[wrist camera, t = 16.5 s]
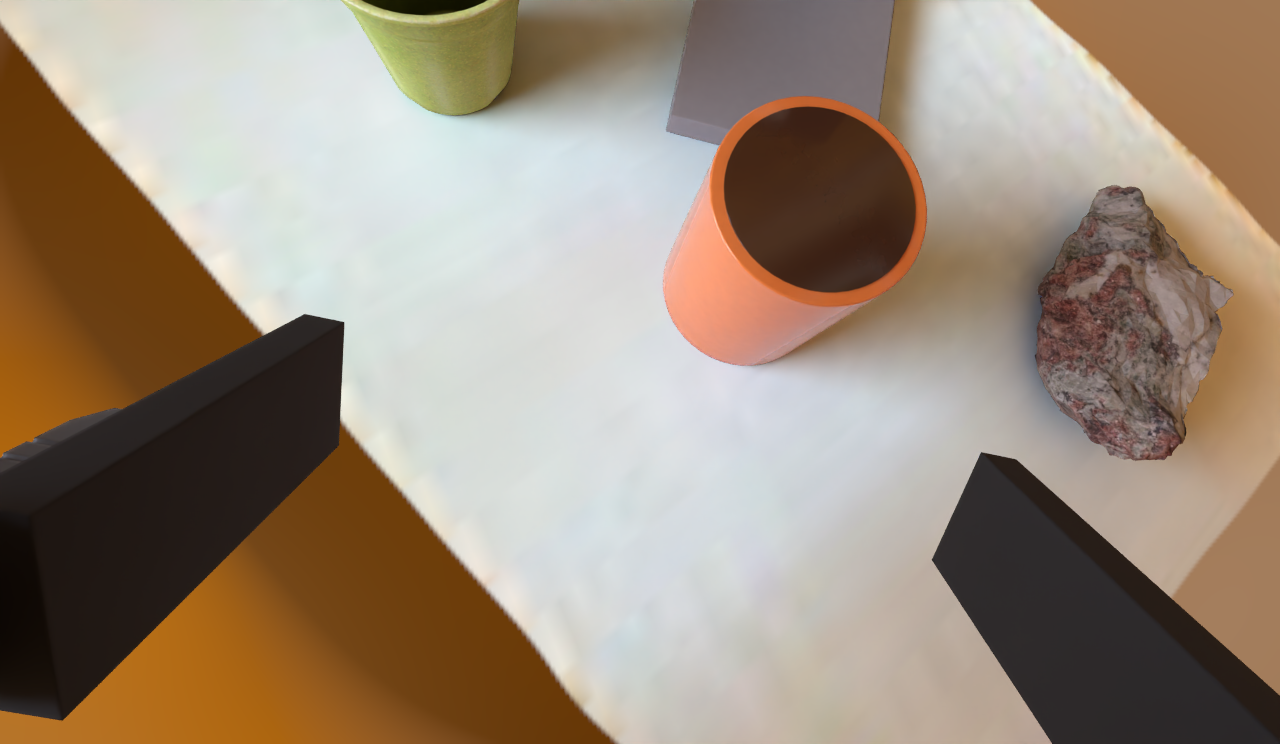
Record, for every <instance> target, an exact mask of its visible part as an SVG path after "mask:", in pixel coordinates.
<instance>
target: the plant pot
mask: <svg viewBox="0 0 1280 744" xmlns="http://www.w3.org/2000/svg"><path fill="white" fill-rule="evenodd" d="M341 1H342V2H343V3H344V4H345V5H346V6H347V7H348V8H349V9H350V10H351V11H352V12H353V14H354V15H355V17H356V18H357V20H358V22H359V23H360V25H361V27H362V28H363V30H364V32H365V33H366V35H367V36H368V38H369V40H370V41H371V43H372V45H373V46H374V48H375V49H376V51H377V53H378V55H379V56H380V58H381V60H382V61H383V63H384V65H385V66H386V68H387V70H388V71H389V73H390V75H391V76H392V78H393V79H394V81H395V83H396V85H397V86H398V88H399V89H400V90H401V91H402V92H403V93H404V94H405V95H406V96H407V97H409V98H410V99H412V100H413V101H415V102H416V103H417V104H419V105H420V106H422V107H423V108H425V109H427V110H429V111H432V112H435V113H439V114H445V115H462V114H468V113H472V112H475V111H478V110H481V109H483V108H485V107H486V106H488V105H489V104H490V103H491V102H492V101H493V100H494V99H495V97H496V96H497V95H498V94H499V93H500V92H501V91H502V90H503V88H504V87H505V86H506V85H507V83H508V81H509V78H510V74H511V67H512V60H513V50H514V40H515V31H516V22H517V13H518V5H519V0H341Z"/></svg>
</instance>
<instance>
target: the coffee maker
mask: <svg viewBox="0 0 1280 744" xmlns="http://www.w3.org/2000/svg"><path fill="white" fill-rule="evenodd" d="M894 2H895V0H694V3H693V8H692V12H691V17H690V22H689V26H688V31H687V35H686V40H685V45H684V49H683V54H682V58H681V63H680V68H679V72H678V77H677V81H676V86H675V91H674V95H673V100H672V105H671V109H670V114H669V118H668V123H667V128H666V131H667V132H671V133H675V134H678V135H682V136H686V137H690V138H694V139H698V140H701V141H705V142H709V143H713V144H717V145H720V144H721V142H722V141H723V139H724V137H725V136H726V134H727V133H728V132H729V131H730V129H731V128H732V127H733V126H734V125H735V124H736V123H737V122H738V121H739V120H740V119H741V118H742V117H744V116H745V115H747V114H748V113H750V112H751V111H752V110H754V109H756V108H758V107H760V106H762V105H764V104H766V103H769V102H772V101H775V100H778V99H783V98H788V97H797V96H813V97H822V98H828V99H833V100H836V101H839V102H843V103H846V104H848V105H851V106H853V107H855V108H857V109H859V110H861V111H863V112H865V113H866V114H868V115H870V116H872V117H873V118H874V119H876V120H877V121H878V122H879V116H880V108H881V101H882V93H883V86H884V78H885V70H886V63H887V55H888V48H889V40H890V33H891V25H892V18H893V10H894Z"/></svg>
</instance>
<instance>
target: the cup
mask: <svg viewBox="0 0 1280 744" xmlns="http://www.w3.org/2000/svg"><path fill="white" fill-rule="evenodd" d="M926 223H927V206H926V198H925V193H924V189H923V185H922V181H921V178H920V176H919V173H918V171H917V168H916V166H915V165H914V163H913V161H912V159H911V157H910V155H909V154H908V153H907V151H906V150H905V148H904V147H903V145H902V144H901V143H900V142H899V141H898V139H897V138H896V137H895V136H894V135H893V134H892V133H891V132H890V131H889V130H888V129H887V128H886V127H885V126H884V125H882V124H881V123H880V122H878V121H877V120H876V119H874V118H873V117H872V116H870V115H868V114H866V113H865V112H863V111H861V110H859V109H857V108H855V107H853V106H851V105H848V104H846V103H843V102H839V101H836V100H833V99H828V98H822V97H813V96H797V97H788V98H783V99H778V100H775V101H772V102H769V103H766V104H764V105H762V106H760V107H758V108H756V109H754V110H752V111H751V112H750V113H748V114H747V115H745V116H744V117H742V118H741V119H740V120H739V121H738V122H737V123H736V124H735V125H734V126H733V127H732V128H731V129H730V131H729V132H728V133H727V134H726V136H725V137H724V139H723V141H722V142H721V144H720V146H719V147H718V150H717V152H716V154H715V156H714V158H713V160H712V163H711V165H710V167H709V169H708V171H707V173H706V176H705V178H704V180H703V182H702V184H701V186H700V189H699V191H698V193H697V195H696V197H695V199H694V202H693V204H692V206H691V208H690V210H689V212H688V215H687V217H686V219H685V221H684V223H683V225H682V228H681V230H680V232H679V234H678V236H677V238H676V241H675V243H674V245H673V247H672V249H671V251H670V254H669V256H668V259H667V261H666V265H665V269H664V277H663V291H664V297H665V302H666V305H667V309H668V312H669V314H670V316H671V318H672V320H673V322H674V324H675V325H676V327H677V328H678V330H679V331H680V332H681V334H682V335H683V336H684V337H685V338H686V339H687V340H688V341H689V342H690V343H691V344H692V345H693V346H694V347H696V348H697V349H698V350H700V351H701V352H703V353H704V354H706V355H708V356H710V357H712V358H714V359H716V360H719V361H722V362H725V363H729V364H735V365H759V364H764V363H768V362H771V361H774V360H776V359H779V358H781V357H782V356H784V355H786V354H787V353H789V352H791V351H792V350H794V349H795V348H797V347H799V346H800V345H802V344H803V343H805V342H807V341H808V340H810V339H811V338H813V337H815V336H816V335H818V334H819V333H821V332H822V331H824V330H826V329H827V328H829V327H830V326H832V325H834V324H835V323H837V322H838V321H840V320H842V319H843V318H845V317H846V316H848V315H849V314H851V313H853V312H854V311H856V310H857V309H859V308H861V307H862V306H864V305H865V304H867V303H869V302H870V301H872V300H873V299H875V298H876V297H878V296H880V295H881V294H883V293H884V292H886V291H888V290H889V289H890V288H892V287H893V286H894V285H895V284H896V283H898V282H899V281H900V280H901V279H902V277H903V276H904V275H905V274H906V273H907V272H908V270H909V269H910V267H911V266H912V264H913V263H914V261H915V260H916V257H917V255H918V253H919V251H920V249H921V246H922V242H923V239H924V236H925V229H926Z"/></svg>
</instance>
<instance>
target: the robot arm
mask: <svg viewBox="0 0 1280 744" xmlns="http://www.w3.org/2000/svg"><path fill="white" fill-rule="evenodd" d="M343 342H344V322H341V321H336V320H331V319H326V318H321V317H316V316H311V315H307V314H304V315H302V316H300V317H298V318H296V319H295V320H293V321H291V322H289V323H287V324H285V325H283V326H281V327H279V328H277V329H275V330H273V331H272V332H270V333H268V334H266V335H264V336H262V337H260V338H258V339H256V340H254V341H252V342H250V343H249V344H247V345H245V346H243V347H241V348H239V349H237V350H235V351H233V352H231V353H229V354H227V355H225V356H224V357H222V358H220V359H218V360H216V361H214V362H212V363H210V364H208V365H206V366H204V367H203V368H200V369H199V370H197V371H195V372H193V373H191V374H189V375H187V376H185V377H183V378H181V379H180V380H177V381H176V382H174V383H172V384H170V385H168V386H166V387H164V388H162V389H160V390H158V391H156V392H154V393H153V394H151V395H149V396H147V397H145V398H143V399H141V400H139V401H137V402H135V403H133V404H131V405H129V406H127V407H126V408H124V409H118V408H113V409H109V410H105V411H102V412H98V413H95V414H91V415H87V416H83V417H80V418H76V419H73V420H69V421H67V422H66V423H63V424H61V425H59V426H57V427H55V428H53V429H51V430H49V431H47V432H45V433H43V434H41V435H39V436H37V437H35V438H34V441H33V442H25V443H23V444H21V445H19V446H17V447H15V448H13V449H11V450H9V451H6V452H4V453H3V456H2V457H1V458H0V710H1V711H8V712H13V713H19V714H25V715H32V716H38V717H44V718H50V719H56V720H63V719H64V718H66V717H67V716H68V715H69V714H70V713H71V712H72V711H73V710H74V709H75V708H76V706H78V704H80V703H81V702H82V701H83V700H84V698H86V697H87V696H88V695H89V694H90V693H91V692H92V691H93V690H94V689H95V688H96V687H97V686H98V684H100V683H101V682H102V681H103V680H104V679H105V678H106V677H107V676H108V675H109V674H110V673H111V672H112V671H113V670H114V669H115V668H116V667H117V666H118V665H119V664H120V663H121V662H122V661H123V660H124V659H125V658H126V657H127V656H128V655H129V654H130V653H131V652H132V651H133V650H134V649H135V648H136V647H137V646H138V645H139V644H140V643H141V642H142V641H143V640H144V639H145V638H146V637H147V636H148V635H149V634H150V633H151V632H152V631H153V630H154V629H155V628H156V627H157V626H158V625H159V624H160V623H161V622H162V621H163V620H164V619H165V618H166V617H167V616H168V615H169V614H170V613H171V612H172V611H173V610H174V609H175V608H176V607H177V606H178V605H179V604H180V603H181V602H182V601H183V600H184V599H185V598H186V597H187V596H188V595H189V594H190V593H191V592H192V591H193V590H194V589H195V588H196V587H197V586H198V585H199V584H200V583H201V582H202V581H203V580H204V579H205V578H206V577H207V576H208V575H209V574H210V573H211V572H212V571H213V570H214V569H215V568H216V567H217V566H218V565H219V564H220V563H221V562H222V561H223V560H224V559H225V558H226V557H227V556H228V555H229V554H230V553H231V552H232V551H233V550H234V549H235V548H236V547H237V546H238V545H239V544H240V543H241V542H242V541H243V540H244V539H245V538H246V537H247V536H248V535H249V534H250V533H251V532H252V531H253V530H254V529H255V528H256V527H257V526H258V525H259V524H260V523H261V522H262V521H263V520H264V519H265V518H266V517H267V516H268V515H269V514H270V513H271V512H272V511H273V510H274V509H275V508H276V507H277V506H278V505H279V504H280V503H281V502H282V501H283V500H284V499H285V498H286V497H287V496H289V494H291V493H292V491H293V490H295V489H296V488H297V487H298V486H299V485H300V484H301V483H302V481H304V479H306V478H307V476H309V475H310V474H311V472H313V470H314V469H316V467H318V466H319V465H320V464H321V463H322V462H323V461H324V460H325V459H326V458H327V457H328V455H329V454H331V452H333V451H334V450H335V449H336V448H337V446H338V445H339V427H340V407H341V385H342V364H343ZM932 561H933V562H934V564H935V565H936V567H937V569H938V570H939V572H940V573H941V575H942V576H943V578H944V579H945V581H946V582H947V584H948V585H949V587H950V588H951V590H952V591H953V593H954V594H955V596H956V597H957V599H958V601H959V602H960V604H961V605H962V607H963V608H964V610H965V611H966V613H967V614H968V616H969V617H970V619H971V620H972V622H973V623H974V625H975V626H976V628H977V629H978V631H979V633H980V634H981V636H982V637H983V639H984V640H985V642H986V643H987V645H988V646H989V648H990V649H991V651H992V652H993V654H994V655H995V657H996V658H997V660H998V662H999V663H1000V665H1001V666H1002V668H1003V669H1004V671H1005V672H1006V674H1007V675H1008V677H1009V678H1010V680H1011V681H1012V683H1013V684H1014V686H1015V687H1016V689H1017V690H1018V692H1019V694H1020V695H1021V697H1022V698H1023V700H1024V701H1025V703H1026V704H1027V706H1028V707H1029V709H1030V710H1031V712H1032V713H1033V715H1034V716H1035V718H1036V719H1037V721H1038V723H1039V724H1040V726H1041V727H1042V729H1043V730H1044V732H1045V733H1046V735H1047V736H1048V738H1049V739H1050V741H1051V742H1052V744H1280V695H1278V694H1277V693H1276V692H1275V691H1274V690H1273V689H1272V688H1271V687H1269V686H1268V685H1267V684H1266V683H1265V682H1264V681H1263V680H1262V679H1261V678H1259V677H1258V676H1257V675H1256V674H1255V673H1254V672H1253V671H1252V670H1251V669H1249V668H1248V667H1247V666H1246V665H1245V664H1244V663H1243V662H1242V661H1240V660H1239V659H1238V658H1237V657H1236V656H1235V655H1234V654H1233V653H1232V652H1230V651H1229V650H1228V649H1227V648H1226V647H1225V646H1224V645H1223V644H1222V643H1220V642H1219V641H1218V640H1217V639H1216V638H1215V637H1214V636H1213V635H1211V634H1210V633H1209V632H1208V631H1207V630H1206V629H1205V628H1204V627H1203V626H1201V625H1200V624H1199V623H1198V622H1197V621H1196V620H1195V619H1194V618H1193V617H1191V616H1190V615H1189V614H1188V613H1187V612H1186V611H1185V610H1184V609H1182V608H1181V607H1180V606H1179V605H1178V604H1177V603H1176V602H1175V601H1174V600H1172V599H1171V598H1170V597H1169V596H1168V595H1167V594H1166V593H1165V592H1164V591H1162V590H1161V589H1160V588H1159V587H1158V586H1157V585H1156V584H1155V583H1153V582H1152V581H1151V580H1150V579H1149V578H1148V577H1147V576H1146V575H1145V574H1143V573H1142V572H1141V571H1140V570H1139V569H1138V568H1137V567H1136V566H1134V565H1133V564H1132V563H1131V562H1130V561H1129V560H1128V559H1127V558H1126V557H1124V556H1123V555H1122V554H1121V553H1120V552H1119V551H1118V550H1117V549H1116V548H1114V547H1113V546H1112V545H1111V544H1110V543H1109V542H1108V541H1107V540H1105V539H1104V538H1103V537H1102V536H1101V535H1100V534H1099V533H1098V532H1097V531H1095V530H1094V529H1093V528H1092V527H1091V526H1090V525H1089V524H1088V523H1086V522H1085V521H1084V520H1083V519H1082V518H1081V517H1080V516H1079V515H1078V514H1076V513H1075V512H1074V511H1073V510H1072V509H1071V508H1070V507H1069V506H1068V505H1066V504H1065V503H1064V502H1063V501H1062V500H1061V499H1060V498H1059V497H1057V496H1056V495H1055V494H1054V493H1053V492H1052V491H1051V490H1050V489H1049V488H1047V487H1046V486H1045V485H1044V484H1043V483H1042V482H1041V481H1040V480H1038V479H1037V478H1036V477H1035V476H1034V475H1033V474H1032V473H1031V472H1030V471H1028V470H1027V469H1026V468H1025V467H1024V466H1023V465H1022V464H1021V463H1020V462H1018V461H1017V460H1016V459H1011V458H1007V457H1002V456H997V455H992V454H987V453H982V452H981V454H980V456H979V458H978V460H977V463H976V465H975V467H974V469H973V471H972V474H971V476H970V478H969V480H968V482H967V484H966V487H965V489H964V491H963V493H962V495H961V498H960V500H959V502H958V504H957V506H956V508H955V511H954V513H953V515H952V517H951V519H950V522H949V524H948V526H947V528H946V530H945V532H944V535H943V537H942V539H941V541H940V543H939V546H938V548H937V550H936V552H935V554H934V556H933V559H932Z"/></svg>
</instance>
